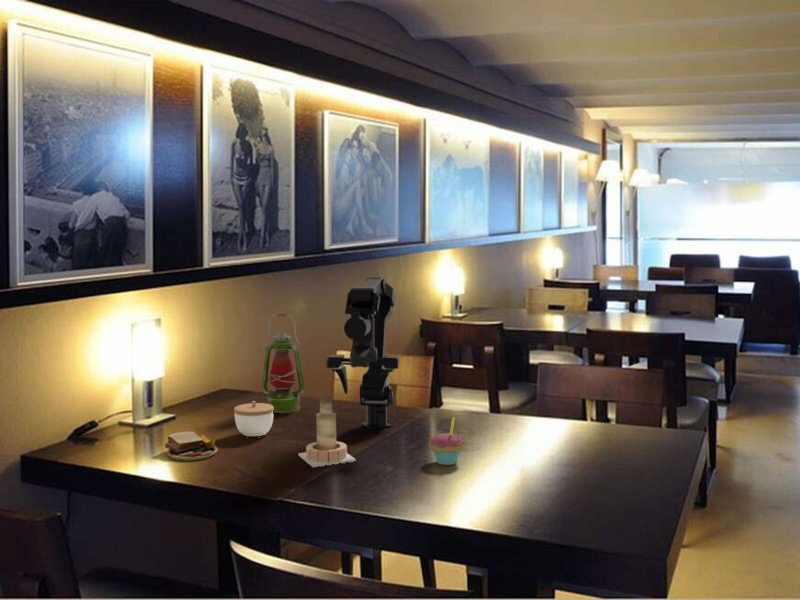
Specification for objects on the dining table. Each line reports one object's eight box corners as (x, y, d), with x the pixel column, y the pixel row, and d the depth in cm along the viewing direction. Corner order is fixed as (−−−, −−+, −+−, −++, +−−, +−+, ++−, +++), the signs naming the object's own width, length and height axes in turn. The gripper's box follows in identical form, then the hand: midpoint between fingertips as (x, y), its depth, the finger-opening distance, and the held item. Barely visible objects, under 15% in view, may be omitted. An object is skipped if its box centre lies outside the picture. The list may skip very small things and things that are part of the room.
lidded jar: (282, 434, 230) (281, 401, 229) (250, 442, 223) (249, 407, 222) (258, 428, 238) (257, 395, 237) (226, 435, 230) (225, 401, 229)
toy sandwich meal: (176, 465, 203) (175, 446, 203) (159, 452, 215) (158, 434, 214) (225, 457, 210) (224, 438, 210) (206, 444, 221) (205, 427, 221)
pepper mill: (316, 453, 209) (315, 392, 208) (336, 452, 210) (335, 392, 208) (317, 459, 205) (316, 396, 203) (336, 458, 205) (336, 396, 204)
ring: (298, 455, 210) (298, 443, 210) (339, 450, 215) (339, 438, 214) (312, 467, 200) (312, 454, 200) (355, 461, 205) (355, 449, 204)
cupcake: (467, 459, 206) (467, 411, 205) (458, 469, 198) (458, 419, 197) (434, 456, 209) (434, 408, 208) (424, 465, 201) (424, 416, 200)
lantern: (256, 413, 255) (253, 315, 252) (267, 405, 266) (265, 311, 263) (299, 414, 253) (298, 316, 250) (310, 406, 263) (308, 312, 260)
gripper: (322, 338, 212) (322, 399, 213) (395, 339, 210) (396, 400, 211) (330, 333, 223) (330, 391, 224) (400, 334, 221) (400, 392, 222)
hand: (363, 394), depth 220 cm, fingers open, 9 cm apart
